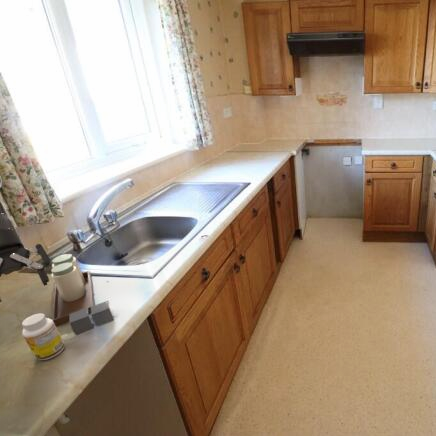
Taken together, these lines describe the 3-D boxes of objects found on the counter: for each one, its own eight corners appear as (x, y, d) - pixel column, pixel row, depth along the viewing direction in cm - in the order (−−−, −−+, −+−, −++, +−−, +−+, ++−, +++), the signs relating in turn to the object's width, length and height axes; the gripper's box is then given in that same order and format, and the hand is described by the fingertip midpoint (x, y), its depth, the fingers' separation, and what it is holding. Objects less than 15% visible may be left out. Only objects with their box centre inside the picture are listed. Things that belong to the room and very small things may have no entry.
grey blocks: (75, 335, 82) (69, 322, 80) (75, 326, 85) (69, 314, 83) (114, 320, 86) (109, 308, 85) (112, 312, 89) (108, 300, 87)
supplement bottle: (37, 350, 77) (18, 317, 73) (65, 339, 80) (49, 307, 76) (35, 365, 73) (15, 332, 69) (65, 353, 76) (48, 320, 72)
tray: (54, 328, 84) (50, 321, 83) (57, 288, 100) (53, 281, 99) (96, 313, 89) (93, 306, 88) (92, 277, 105) (89, 270, 104)
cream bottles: (62, 304, 92) (48, 275, 88) (63, 284, 101) (50, 257, 97) (86, 296, 95) (74, 267, 91) (85, 277, 104) (73, 250, 100)
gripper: (-51, 240, 72) (-24, 303, 70) (30, 219, 81) (57, 274, 79) (-39, 253, 78) (-13, 311, 75) (36, 231, 87) (61, 283, 84)
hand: (23, 292), depth 77 cm, fingers open, 8 cm apart
